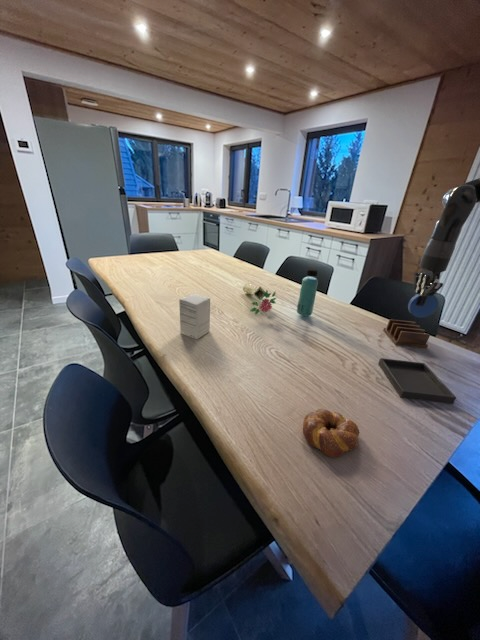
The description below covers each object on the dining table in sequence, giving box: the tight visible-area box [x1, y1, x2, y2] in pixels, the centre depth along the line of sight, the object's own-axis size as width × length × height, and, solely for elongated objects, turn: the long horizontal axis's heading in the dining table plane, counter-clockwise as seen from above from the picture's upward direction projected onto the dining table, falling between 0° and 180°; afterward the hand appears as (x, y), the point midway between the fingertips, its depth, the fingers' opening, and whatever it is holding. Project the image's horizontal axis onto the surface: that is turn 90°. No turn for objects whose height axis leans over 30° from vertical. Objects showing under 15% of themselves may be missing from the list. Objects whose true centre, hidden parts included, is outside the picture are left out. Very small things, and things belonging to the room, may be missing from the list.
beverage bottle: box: [296, 268, 319, 317], centre depth 106 cm, size 6×7×20 cm
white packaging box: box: [178, 292, 211, 340], centre depth 88 cm, size 7×7×13 cm
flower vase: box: [242, 283, 277, 315], centre depth 113 cm, size 12×12×35 cm
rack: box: [383, 318, 431, 349], centre depth 97 cm, size 11×11×5 cm
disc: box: [407, 293, 439, 318], centre depth 92 cm, size 9×2×9 cm, turn 84°
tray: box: [378, 357, 457, 405], centre depth 74 cm, size 13×15×2 cm
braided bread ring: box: [302, 408, 361, 458], centre depth 55 cm, size 12×11×4 cm
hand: (417, 304), depth 92 cm, fingers closed on disc, 1 cm apart
